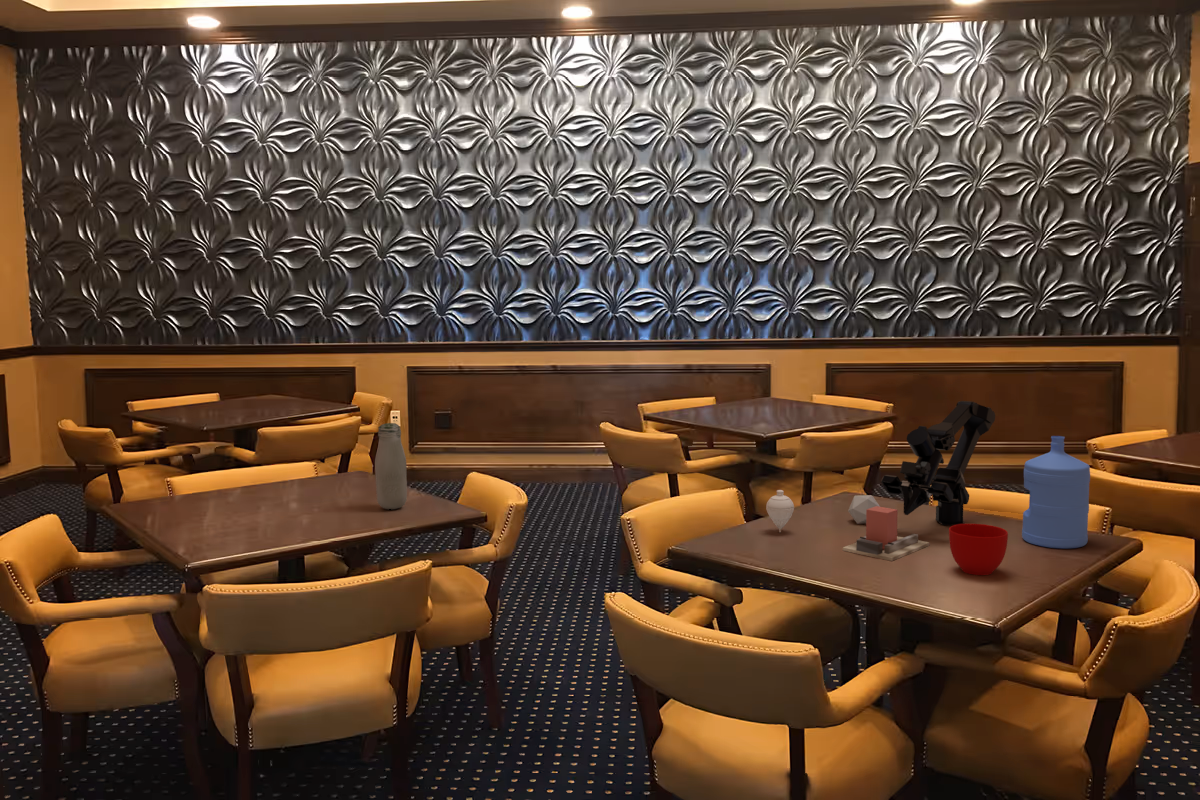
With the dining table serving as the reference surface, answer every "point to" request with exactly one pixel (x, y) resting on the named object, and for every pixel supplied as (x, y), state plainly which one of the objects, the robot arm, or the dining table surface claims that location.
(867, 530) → the pink upright block
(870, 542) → the press stand
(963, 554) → the ceramic cup
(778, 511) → the spinning top
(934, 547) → the dining table surface
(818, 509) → the dining table surface
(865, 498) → the die
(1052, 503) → the water jug
